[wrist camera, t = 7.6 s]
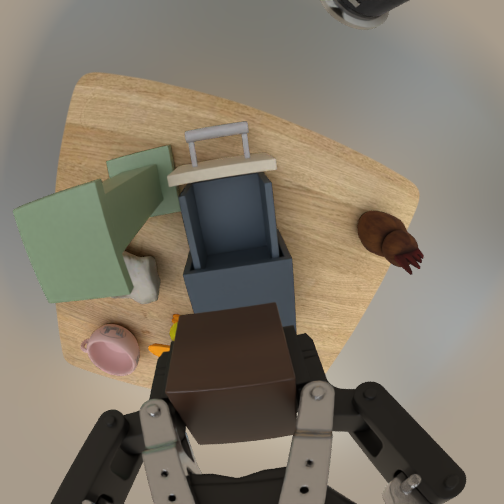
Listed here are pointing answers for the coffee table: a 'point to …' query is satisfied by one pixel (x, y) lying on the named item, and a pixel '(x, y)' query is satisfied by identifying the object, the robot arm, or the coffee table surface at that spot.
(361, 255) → the coffee table surface
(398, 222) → the wooden figurine
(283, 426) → the block
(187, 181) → the drawer
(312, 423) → the robot arm
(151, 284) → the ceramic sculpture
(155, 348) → the toy figure
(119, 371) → the mug
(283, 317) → the cabinet
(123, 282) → the stand
